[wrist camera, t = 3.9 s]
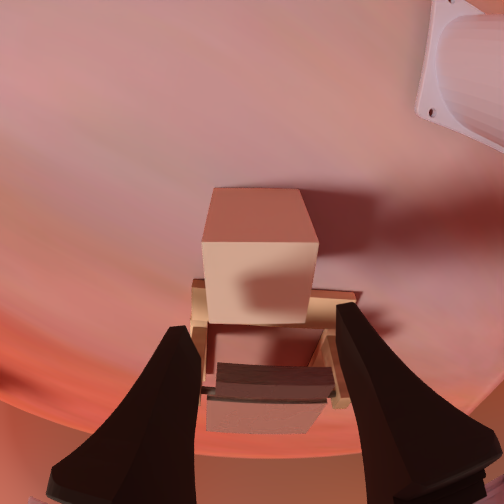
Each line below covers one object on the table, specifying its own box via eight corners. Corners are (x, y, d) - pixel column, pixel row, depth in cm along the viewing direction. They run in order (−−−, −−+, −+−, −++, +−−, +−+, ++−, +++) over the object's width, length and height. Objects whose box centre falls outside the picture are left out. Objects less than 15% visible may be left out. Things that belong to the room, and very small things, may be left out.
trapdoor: (209, 361, 17) (207, 381, 16) (338, 366, 18) (342, 384, 17) (207, 419, 22) (205, 434, 21) (304, 422, 23) (306, 436, 21)
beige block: (298, 188, 17) (319, 242, 12) (291, 257, 19) (304, 323, 15) (213, 187, 17) (201, 241, 12) (217, 257, 19) (209, 323, 15)
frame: (191, 278, 20) (176, 357, 15) (355, 292, 21) (381, 364, 16) (192, 372, 26) (185, 434, 21) (314, 379, 27) (323, 438, 22)
